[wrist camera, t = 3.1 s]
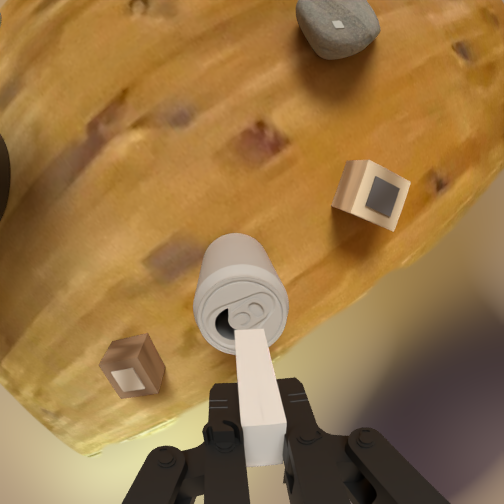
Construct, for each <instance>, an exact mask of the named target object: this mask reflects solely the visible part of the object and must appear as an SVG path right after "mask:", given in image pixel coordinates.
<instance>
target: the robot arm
mask: <svg viewBox="0 0 504 504" xmlns="http://www.w3.org/2000/svg"><path fill="white" fill-rule="evenodd" d="M1 19H2V18H1V14H0V26H1ZM9 182H10V168H9V158H8V153H7V148H6V145H5V142H4V140H3V138H2V136H1V134H0V220H1V218H2V216H3V213H4V210H5V207H6V203H7V198H8V192H9ZM234 332H235V350H236V368H237V383H218V384H214V386H213V387H212V389H211V390H210V397H209V420H208V423H207V424H206V425H205V426H204V428H203V431H202V432H203V437H204V442H203V443H202V444H201V445H199V446H198V447H196V448H192V449H188V450H184V451H180V450H179V449H178V448H175V447H173V446H161V447H157V448H155V449H154V450H152V451H151V452H150V453H149V455H148V456H147V458H146V460H145V462H144V464H143V466H142V467H141V469H140V471H139V473H138V475H137V476H136V478H135V480H134V482H133V484H132V486H131V488H130V489H129V491H128V493H127V495H126V497H125V498H124V500H123V502H122V504H194V502H195V499H196V496H199V495H203V494H204V504H250V499H249V489H248V479H247V470H246V467H254V466H267V465H276V464H283V460H284V465H285V473H284V481H283V483H286V485H287V490H288V495H289V500H290V504H351V503H350V501H351V502H352V503H353V504H450V503H449V502H448V501H447V500H446V499H445V498H444V497H443V496H442V495H441V494H440V493H439V492H438V491H437V490H436V489H435V488H434V487H433V486H432V485H431V484H430V483H429V482H428V481H427V480H426V479H425V478H424V477H423V476H422V475H421V474H420V473H419V472H418V471H417V470H416V469H415V468H414V467H413V466H412V465H411V464H410V463H409V462H408V461H407V460H406V459H405V458H404V457H403V456H402V455H401V454H400V453H399V452H398V451H397V450H396V449H395V448H394V447H393V446H392V445H391V444H390V443H389V442H388V441H387V440H386V439H385V438H384V437H383V436H382V434H380V433H379V432H378V431H377V430H375V429H372V428H359V429H356V430H354V431H353V432H352V433H351V434H350V435H349V436H341V435H331V434H328V433H326V432H324V431H323V430H322V429H320V428H319V427H318V425H317V423H316V421H315V418H314V415H313V412H312V409H311V406H310V404H309V401H308V398H307V395H306V393H305V390H304V387H303V384H302V383H300V381H299V380H298V379H296V378H285V379H276V377H275V373H274V369H273V365H272V360H271V356H270V352H269V348H268V344H267V340H266V336H265V332H264V329H247V330H234ZM349 499H350V500H349Z"/></svg>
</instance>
